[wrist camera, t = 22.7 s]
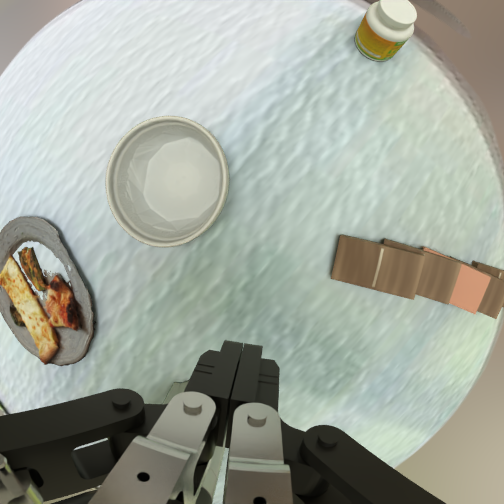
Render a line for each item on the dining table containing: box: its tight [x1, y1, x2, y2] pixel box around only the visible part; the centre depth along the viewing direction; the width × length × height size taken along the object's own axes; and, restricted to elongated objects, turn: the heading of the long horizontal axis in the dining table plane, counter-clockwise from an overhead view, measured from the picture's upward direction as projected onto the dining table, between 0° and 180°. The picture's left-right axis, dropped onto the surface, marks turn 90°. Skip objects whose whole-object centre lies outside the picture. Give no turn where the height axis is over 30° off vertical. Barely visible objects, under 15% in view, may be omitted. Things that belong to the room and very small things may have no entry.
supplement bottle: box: [355, 0, 417, 61], centre depth 25 cm, size 5×5×10 cm
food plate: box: [0, 217, 96, 366], centre depth 40 cm, size 25×23×4 cm
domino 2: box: [383, 239, 462, 304], centre depth 33 cm, size 2×5×10 cm
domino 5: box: [471, 261, 504, 307], centre depth 34 cm, size 2×5×10 cm
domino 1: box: [331, 235, 425, 300], centre depth 33 cm, size 2×5×10 cm
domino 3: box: [422, 246, 491, 314], centre depth 32 cm, size 2×5×10 cm
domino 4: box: [450, 256, 504, 319], centre depth 32 cm, size 2×5×10 cm
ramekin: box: [106, 116, 229, 247], centre depth 32 cm, size 13×13×7 cm
